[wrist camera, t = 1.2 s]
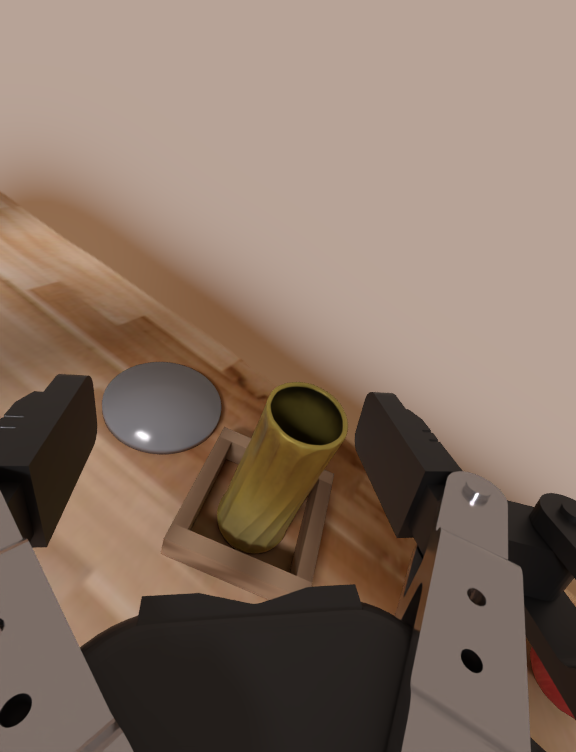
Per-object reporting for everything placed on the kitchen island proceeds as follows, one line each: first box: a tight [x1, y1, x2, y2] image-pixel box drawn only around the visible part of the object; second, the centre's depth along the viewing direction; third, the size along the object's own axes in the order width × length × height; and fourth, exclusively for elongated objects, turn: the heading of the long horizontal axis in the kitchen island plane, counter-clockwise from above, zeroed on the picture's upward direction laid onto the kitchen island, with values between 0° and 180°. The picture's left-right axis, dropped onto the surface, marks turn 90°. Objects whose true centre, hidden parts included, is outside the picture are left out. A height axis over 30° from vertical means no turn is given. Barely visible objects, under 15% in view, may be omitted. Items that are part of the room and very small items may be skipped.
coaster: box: [102, 362, 221, 454], centre depth 37 cm, size 11×11×1 cm
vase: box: [217, 382, 348, 553], centre depth 27 cm, size 6×6×14 cm
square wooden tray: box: [161, 427, 334, 600], centre depth 31 cm, size 11×11×3 cm
